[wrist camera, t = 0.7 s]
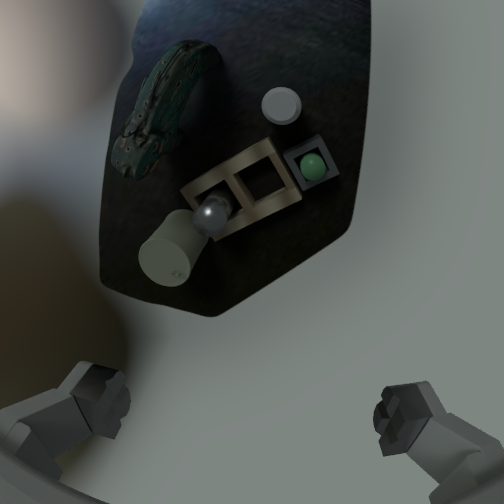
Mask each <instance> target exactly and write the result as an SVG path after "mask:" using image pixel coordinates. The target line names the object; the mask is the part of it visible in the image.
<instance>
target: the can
mask: <svg viewBox="0 0 504 504" xmlns="http://www.w3.org/2000/svg"><path fill="white" fill-rule="evenodd" d="M194 213H195V212H193V211H190V210H186V209H179V210H176V211H173V212H171V213H170V214H169V215H168V216H167V217H166V219H165V221H164V222H163V223H162V224H161V225H160V227H159V228H158V229H157V230H156V231H155V232H154V233H153V235H152V236H151V237H150V238H149V239H148V240H147V241H146V242H145V243H144V244H143V245H142V247H141V248H140V251H139V262H140V265H141V267H142V269H143V271H144V272H145V274H146V275H147V276H148V277H149V278H150V279H152V280H153V281H154V282H156V283H158V284H161V285H164V286H170V287H171V286H178V285H181V284H183V283H184V282H185V281H186V280H187V279H188V278H189V276H190V273H191V270H192V268H193V266H194V264H195V262H196V260H197V258H198V257H199V255H200V253H201V251H202V249H203V247H204V246H205V245H206V243H207V241H208V238H209V237H205V236H203V235H201V234H199V233H198V232H197V231H196V230H195V228H194V226H193V222H192V219H193V215H194Z"/></svg>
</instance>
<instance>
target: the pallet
mask: <svg viewBox="0 0 504 504" xmlns="http://www.w3.org/2000/svg"><path fill="white" fill-rule="evenodd" d="M266 156H269V158H270V159H271V161H272V163H273V164H274V166H275V168H276V169H277V171H278V173H279V175H280V176H281V178H282V180H283V182H284V183H285V185H286V187H284V188H282V189H280V190H278V191H276V192H274V193H272V194H270V195H268V196H266V197H264V198H262V199H260V200H258V201H256V202H255V200H254V198H253V197H252V195H251V194H250V192H249V190H248V189H247V187H246V186H245V184H244V182H243V181H242V179H241V178H240V176H239V174H238V173H237V172H238V171H240V170H242V169H244V168H246V167H247V166H249V165H251V164H253V163H255V162H257V161H259V160H260V159H262V158H264V157H266ZM224 179H225V181H226V182H227V184H228V185H229V187H230V188H231V190H232V192H233V193H234V195H235V196H236V198H237V199H238V201H239V202H240V204H241V206H242V207H243V208H242V209H240V210H238V211H236V212H234V213H233V214H231V215H230V216H229V218H228V220H227V222H226V224H225V226H224V229H223V231H222V232H221V233H220V234H219V235H217V236H215V237H212V238H213V239H214V241H217V240H219V239H221V238H223V237H225V236H227V235H229V234H231V233H233V232H235V231H237V230H239V229H242V228H244V227H246V226H248V225H250V224H252V223H254V222H256V221H258V220H260V219H262V218H264V217H266V216H268V215H270V214H272V213H274V212H276V211H278V210H280V209H283V208H285V207H287V206H289V205H291V204H293V203H295V202H297V201H299V200H301V199H302V193H301V191H300V189H299V187H298V186H297V184H296V182H295V180H294V178H293V177H292V175H291V173H290V171H289V169H288V168H287V166H286V164H285V162H284V161H283V159H282V157H281V155H280V154H279V152H278V150H277V149H276V147H275V145H274V144H273V142H272V140H271V138H270V137H267V138H265V139H263V140H262V141H260V142H258V143H256V144H254V145H252V146H251V147H249V148H247V149H245V150H244V151H242V152H240V153H238V154H236V155H235V156H233V157H231V158H230V159H228V160H226V161H224V162H223V163H221V164H219V165H218V166H216V167H214V168H213V169H211V170H209V171H208V172H206V173H204V174H203V175H201V176H199V177H198V178H196V179H195V180H193V181H191V182H190V183H188V184H187V185H185V186H184V187H183V188H182V189H181V190H180V191H181V193H182V194H183V196H184V197H185V199H186V200H187V202H188V203H189V205H190V206H191V207H192V209H193V210H194V212H196V211H197V209H198V208H199V207H200V205H201V204H202V203H203V201H204V200H203V199H202V197H201V196H200V193H202V192H204V191H205V190H207V189H209V188H210V187H212V186H214V185H216V184H217V183H219V182H221V181H223V180H224Z"/></svg>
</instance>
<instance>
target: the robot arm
mask: <svg viewBox="0 0 504 504" xmlns="http://www.w3.org/2000/svg"><path fill="white" fill-rule="evenodd" d="M124 382H125V377H124V374H123V372H121V371H119V370H115V369H111V368H107V367H104V366H100V365H97V364H92V363H89V362H85V361H81V362H79V363H78V364H77V365H76V366H75V368H74V369H73V370H72V371H71V373H70V374H69V375H68V376H67V378H66V379H65V380H64V382H63V383H62V384H61V385H60V386H59V388H58V389H51V390H49V391H46V392H44V393H42V394H39V395H36V396H34V397H31V398H29V399H26V400H24V401H22V402H19V403H16V404H14V405H11V406H9V407H6V408H3V409H1V411H0V504H109V503H106V502H103V501H101V500H98V499H96V498H93V497H91V496H89V495H86V494H84V493H82V492H79V491H77V490H75V489H73V488H71V487H68V486H67V485H65V484H62V483H60V482H59V479H60V477H61V475H62V473H63V472H62V469H61V468H60V466H59V465H58V464H57V463H56V462H55V460H54V459H55V458H56V457H58V456H60V455H61V454H63V453H64V452H66V451H67V450H69V449H70V448H72V447H73V446H75V445H77V444H78V443H79V442H81V441H83V440H84V439H86V438H87V437H89V436H90V435H91V434H92V433H94V434H98V435H101V436H104V437H108V438H111V439H115V437H116V435H117V433H118V431H119V429H120V427H121V422H120V419H121V418H122V417H124V416H126V415H127V413H128V411H129V407H130V402H131V400H130V393H129V390H128V389H127V388H126V387H125V386H124ZM381 397H382V399H383V400H382V401H381V402H379V403H378V404H377V405H376V408H375V410H374V416H373V423H374V428H375V431H376V432H377V433H379V434H380V435H381V437H380V439H379V444H380V447H381V450H382V454H383V456H390V455H395V454H402V453H406V454H407V455H408V456H409V457H410V458H411V459H412V460H413V461H415V462H416V463H417V464H418V465H419V466H420V467H421V468H422V469H423V470H424V471H426V472H427V473H428V474H429V475H430V476H431V477H432V478H433V479H435V480H436V481H437V482H438V483H439V484H440V485H439V486H438V487H437V488H436V489H435V490H434V491H433V492H432V493H431V494H430V495H429V499H430V502H431V504H504V449H503V447H502V445H501V443H500V441H499V440H497V439H495V438H493V437H492V436H490V435H488V434H486V433H485V432H483V431H481V430H479V429H478V428H476V427H474V426H472V425H471V424H469V423H467V422H466V421H464V420H462V419H460V418H459V417H457V416H455V415H454V414H452V413H447V412H446V411H445V409H444V407H443V406H442V404H441V402H440V400H439V398H438V397H437V395H436V393H435V392H434V390H433V388H432V386H431V385H430V383H429V382H427V381H423V382H416V383H410V384H403V385H395V386H386V387H385V388H384V389H383V392H382V394H381Z"/></svg>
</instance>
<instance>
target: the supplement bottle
mask: <svg viewBox="0 0 504 504" xmlns="http://www.w3.org/2000/svg"><path fill="white" fill-rule="evenodd" d="M301 108H302V104H301V100H300V98H299V96H298V95H297V94H296V93H295V92H294V91H292V90H291V89H288V88H285V87H278V88H274V89H272V90H270V91H269V92H267V93H266V95H265V96H264V98H263V100H262V111H263V113H264V115H265V117H266V118H267V119H268V120H269V121H271V122H273V123H275V124H279V125H286V124H290V123H292V122H293V121H295V120H296V119H297V118H298V117H299V115H300V113H301Z"/></svg>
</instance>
